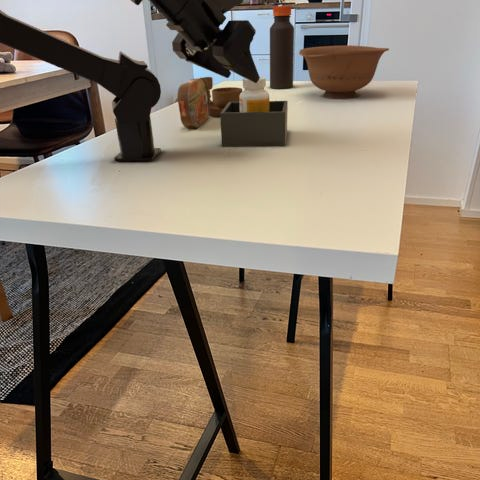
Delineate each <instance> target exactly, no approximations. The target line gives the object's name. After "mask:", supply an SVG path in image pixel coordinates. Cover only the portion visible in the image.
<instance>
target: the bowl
mask: <svg viewBox="0 0 480 480" xmlns="http://www.w3.org/2000/svg"><path fill="white" fill-rule="evenodd" d="M388 51H390V48H388V47H375V46H374V47H373V46H366V45H352V44H351V45H327V46H315V47H314V46H313V47H306V48H305V47H304V48H301V49H299V52H298V55H300V56H302V57H303V58H304V60H305V61H306V65H307V70H308V76H309V79H310V82H311V84H313V86H314V87H316V88H318V89H319V90H321V91H324V93H322V97H323V98H327V99H350V98H355V97H358V93H357V92H356V91H358V90H361V89H363V88H365V87H366V86H368V85H369V84H370V83H371V82H372V80H373V79H374V76H375V74H376V72H377V67H378V65H379V63H380V62H379V61H380V59H381V57H382V56H383V54H384V53H385V52H388Z"/></svg>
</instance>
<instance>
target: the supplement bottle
mask: <svg viewBox="0 0 480 480" xmlns="http://www.w3.org/2000/svg"><path fill="white" fill-rule="evenodd" d="M259 77H260V79H259V80H258V82H257V83H254V82H252V81H250V80H248V79H246V78H244V77H243V79H242V89H244V90H242V92H241V93H240V96H239V105H240V112H269V101H270V93H269V92H268V91H267V90H266V89H265V87H266V85H267V83H266V82H267V81H266V79H267V78H266V77H264V76H259Z"/></svg>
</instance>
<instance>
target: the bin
mask: <svg viewBox="0 0 480 480" xmlns="http://www.w3.org/2000/svg"><path fill="white" fill-rule="evenodd" d="M288 102H289V101H288V100H269V112H240V105H239V102H229V103H228V104H227V105H226V106H225V108H224V109H223V110H222V112H221V113H220V116H219V119H220V136H221V137H220V138H221V147H285V146H286V142H287V136H288V109H289V107H288Z"/></svg>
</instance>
